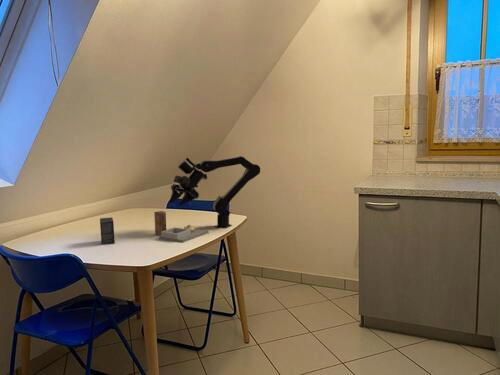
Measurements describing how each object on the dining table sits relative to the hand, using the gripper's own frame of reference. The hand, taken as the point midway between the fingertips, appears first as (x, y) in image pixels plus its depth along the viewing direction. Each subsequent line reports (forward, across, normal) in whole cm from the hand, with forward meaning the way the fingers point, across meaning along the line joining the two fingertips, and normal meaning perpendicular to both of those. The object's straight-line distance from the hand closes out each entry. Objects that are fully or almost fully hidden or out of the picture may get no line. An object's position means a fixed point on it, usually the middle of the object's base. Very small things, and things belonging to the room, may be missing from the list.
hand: (174, 204), depth 203 cm
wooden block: (+15, -1, +5) cm, 16 cm away
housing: (+10, +10, +10) cm, 17 cm away
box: (+33, -4, -12) cm, 35 cm away
